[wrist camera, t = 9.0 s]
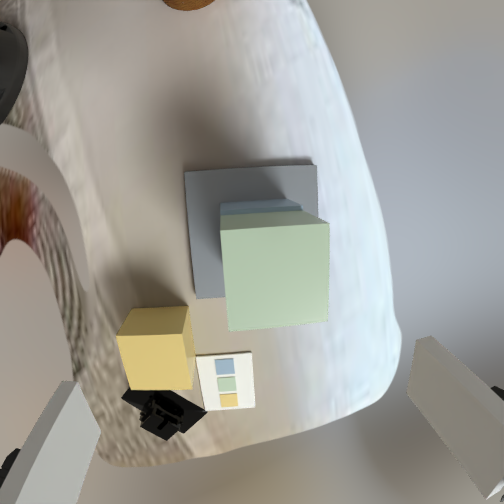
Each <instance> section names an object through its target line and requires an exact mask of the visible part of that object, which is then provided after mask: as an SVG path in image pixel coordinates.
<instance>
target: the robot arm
mask: <svg viewBox="0 0 504 504" xmlns="http://www.w3.org/2000/svg"><path fill="white" fill-rule="evenodd" d="M27 61H28V49H27V43H26V40H25V38H24V36H23V34H22V33H21V32H20V31H19V30H18V29H16V28H15V27H13V26H11V25H10V24H8V23H5V22H0V125H1V123H2V122H3V121H4V120H5V118H6V117H7V115H8V114H9V112H10V110H11V109H12V107H13V105H14V103H15V101H16V99H17V97H18V95H19V92H20V90H21V87H22V84H23V81H24V78H25V74H26V69H27ZM406 393H407V395H408V396H409V397H410V398H411V400H412V401H413V402H414V404H415V405H416V406H417V408H418V409H419V410H420V411H421V413H422V414H423V415H424V417H425V418H426V419H427V421H428V422H429V423H430V424H431V426H432V427H433V428H434V430H435V431H436V432H437V434H438V435H439V436H440V438H441V439H442V440H443V442H444V443H445V444H446V446H447V447H448V448H449V450H450V451H451V452H452V454H453V455H454V456H455V458H456V459H457V461H458V462H459V463H460V465H461V466H462V467H463V469H464V470H465V471H466V473H467V474H468V476H469V477H470V478H471V480H472V481H473V482H474V484H475V485H476V486H477V488H478V489H479V491H480V492H481V494H482V495H483V497H484V498H485V499H488V498H489V497H491V496H492V495H494V494H495V493H497V492H498V491H500V490H501V489H502V488H503V487H504V390H502V389H500V388H498V387H496V386H494V387H492V388H489V387H488V386H487V385H486V384H485V383H484V382H483V381H482V380H481V379H479V378H478V377H477V376H476V375H475V374H474V373H473V372H472V371H471V370H469V369H468V368H467V367H466V366H465V365H464V364H463V363H462V362H461V361H460V360H458V359H457V358H456V357H455V356H454V355H453V354H452V353H451V352H449V351H448V350H447V349H446V348H445V347H444V346H442V345H441V344H440V343H439V342H438V341H437V340H436V339H435V338H433V337H432V336H428V337H425V338H421V339H418V340H416V344H415V350H414V356H413V361H412V367H411V372H410V377H409V382H408V386H407V391H406ZM100 434H101V430H100V428H99V426H98V424H97V422H96V420H95V418H94V416H93V414H92V412H91V410H90V408H89V406H88V404H87V401H86V399H85V397H84V395H83V393H82V390H81V388H80V386H79V383H78V382H76V381H62V382H61V383H60V385H59V386H58V388H57V390H56V391H55V393H54V394H53V396H52V398H51V399H50V401H49V402H48V404H47V406H46V407H45V409H44V411H43V412H42V414H41V416H40V417H39V419H38V421H37V422H36V424H35V426H34V427H33V429H32V431H31V433H30V435H29V436H28V438H27V440H26V441H25V443H24V445H23V447H22V449H18V448H16V449H15V450H14V451H13V452H11V453H10V454H9V455H8V456H7V457H6V459H5V461H4V463H3V465H2V466H1V467H2V469H0V504H77V500H78V497H79V494H80V491H81V488H82V485H83V482H84V479H85V476H86V473H87V470H88V467H89V464H90V461H91V458H92V455H93V453H94V450H95V447H96V444H97V442H98V439H99V436H100ZM503 501H504V495H503V496H502V498H501V501H500V502H503Z"/></svg>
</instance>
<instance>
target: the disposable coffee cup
mask: <svg viewBox="0 0 504 504" xmlns="http://www.w3.org/2000/svg"><path fill="white" fill-rule="evenodd" d="M163 1H164V3H165V4H167V5H168V6H169V7H171V8H174V9H177V10H183V11H190V10H197V9H200V8H203V7H205V6H207V5H209V4H211V3H212V2H213V1H215V0H163Z"/></svg>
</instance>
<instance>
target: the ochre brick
mask: <svg viewBox="0 0 504 504" xmlns="http://www.w3.org/2000/svg"><path fill="white" fill-rule="evenodd" d="M116 339H117V343H118V347H119V350H120V354H121V358H122V361H123V365H124V368H125V372H126V375H127V378H128V382H129V385H130V388H131V390H186V389H192V387H193V377H194V368H195V359H196V354H195V348H194V341H193V335H192V328H191V321H190V314H189V307H188V306H175V307H157V308H136V309H131V311H130V313H129V314H128V316H127V318H126V319H125V321H124V323H123V324H122V326H121V328H120V330H119V331H118V333H117V335H116Z"/></svg>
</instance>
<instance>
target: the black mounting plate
mask: <svg viewBox="0 0 504 504" xmlns="http://www.w3.org/2000/svg"><path fill="white" fill-rule="evenodd" d="M121 398H122V399H123V400H125V401H126V402H128V403H129V404H131V405H133V406H134V407H136V408H138V409H139V410H141V412H140V415H141V416H140V421H141V425H140V427H142V428H144V429H145V430H147V431H149V432H151V433H153V434H155V435H157V436H158V437H160V438H162V439H164V440H166V441H167V440H168V439H169V438H171V437H172V436H173V435H174V434H175V433H176V432H177V431H179V432H181V433H185V432H186V431H187V430H188V429H190V428H191V427H192V426H193V425H194V424H195V423H196V422H197V421H199V420H200V419H201V418H202V417H203V416H204V415H205V414H206V413H207V411H205V410H204V409H202V408H201V407H199V406H197V405H195V404H193V403H192V402H190V401H188V400H186V399H185V398H183V397H181V396H180V395H178V394H176V393H174V392H173V391H171V390H131V388H130V387H129V389H128V390H127V391H126V392H125V394H124V395H123V396H122V397H121Z"/></svg>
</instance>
